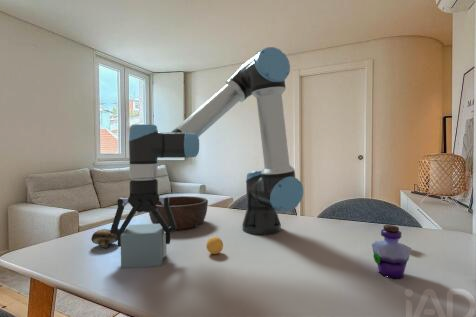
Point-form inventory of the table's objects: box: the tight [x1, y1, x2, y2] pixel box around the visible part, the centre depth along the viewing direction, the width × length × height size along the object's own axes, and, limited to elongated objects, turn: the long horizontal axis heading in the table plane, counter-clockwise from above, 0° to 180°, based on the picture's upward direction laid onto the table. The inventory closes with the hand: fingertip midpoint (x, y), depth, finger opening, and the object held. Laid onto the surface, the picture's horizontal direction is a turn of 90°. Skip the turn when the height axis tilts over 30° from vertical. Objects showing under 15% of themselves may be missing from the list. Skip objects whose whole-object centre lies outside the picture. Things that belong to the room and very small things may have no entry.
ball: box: [206, 236, 224, 255], centre depth 80 cm, size 5×5×5 cm
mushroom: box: [90, 228, 118, 249], centre depth 88 cm, size 8×8×6 cm
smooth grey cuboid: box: [120, 223, 165, 269], centre depth 76 cm, size 10×10×9 cm
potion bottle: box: [371, 224, 412, 280], centre depth 66 cm, size 9×9×12 cm
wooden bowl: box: [148, 195, 209, 231], centre depth 115 cm, size 25×25×10 cm
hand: (144, 256), depth 76 cm, fingers open, 10 cm apart
